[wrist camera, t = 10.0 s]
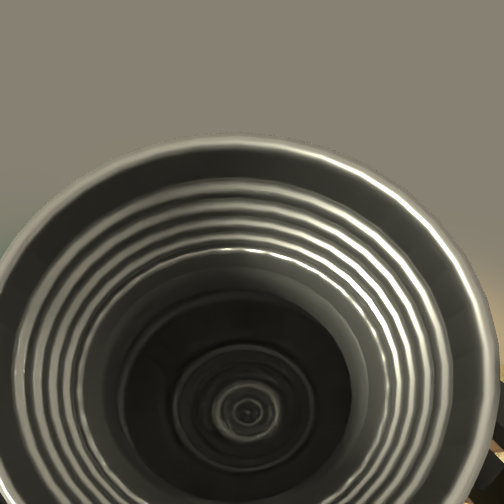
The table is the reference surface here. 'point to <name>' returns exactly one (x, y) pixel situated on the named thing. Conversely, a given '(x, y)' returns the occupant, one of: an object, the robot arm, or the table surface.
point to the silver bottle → (241, 336)
